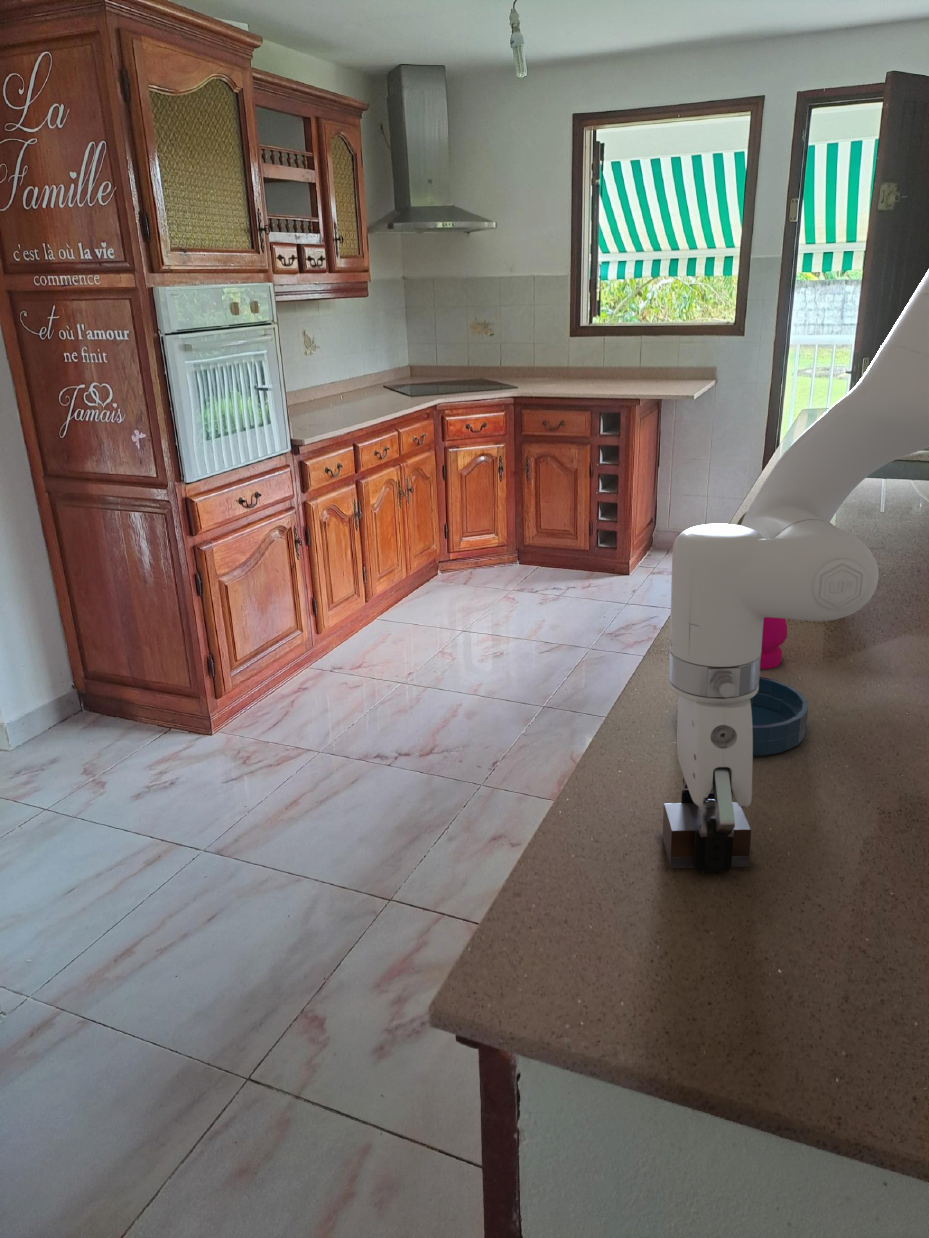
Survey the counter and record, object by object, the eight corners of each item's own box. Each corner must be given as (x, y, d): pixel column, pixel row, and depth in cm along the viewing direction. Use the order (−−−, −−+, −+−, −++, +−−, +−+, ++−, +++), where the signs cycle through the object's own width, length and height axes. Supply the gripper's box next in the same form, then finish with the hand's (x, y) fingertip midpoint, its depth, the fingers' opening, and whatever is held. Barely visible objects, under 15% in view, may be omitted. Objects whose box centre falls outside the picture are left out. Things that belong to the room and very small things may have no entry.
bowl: (784, 701, 110) (787, 672, 108) (822, 758, 97) (825, 725, 95) (669, 704, 111) (670, 675, 109) (690, 761, 97) (692, 728, 96)
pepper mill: (751, 646, 127) (760, 510, 120) (795, 660, 121) (807, 519, 114) (719, 660, 123) (726, 520, 116) (763, 675, 117) (773, 530, 110)
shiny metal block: (736, 838, 84) (739, 801, 82) (748, 867, 79) (751, 829, 78) (662, 839, 84) (663, 803, 83) (670, 868, 80) (671, 830, 79)
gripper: (787, 714, 67) (771, 908, 73) (734, 631, 83) (724, 796, 89) (687, 716, 68) (680, 909, 74) (654, 634, 84) (650, 798, 90)
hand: (704, 845), depth 82 cm, fingers open, 5 cm apart
